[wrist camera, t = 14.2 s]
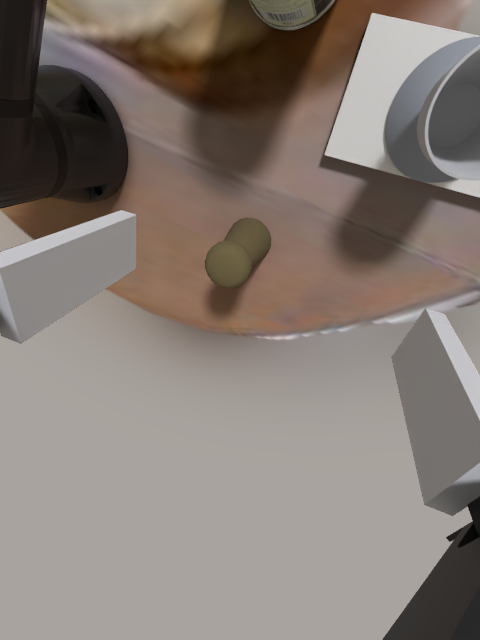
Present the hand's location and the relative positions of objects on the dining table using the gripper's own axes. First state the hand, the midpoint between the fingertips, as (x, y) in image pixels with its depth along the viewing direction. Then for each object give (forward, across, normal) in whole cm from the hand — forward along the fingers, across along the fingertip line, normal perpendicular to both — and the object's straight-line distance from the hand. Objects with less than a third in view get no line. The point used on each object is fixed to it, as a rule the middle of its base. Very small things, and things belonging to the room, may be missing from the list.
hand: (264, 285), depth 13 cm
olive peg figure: (+27, -6, -8) cm, 29 cm away
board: (+27, +10, +10) cm, 30 cm away
